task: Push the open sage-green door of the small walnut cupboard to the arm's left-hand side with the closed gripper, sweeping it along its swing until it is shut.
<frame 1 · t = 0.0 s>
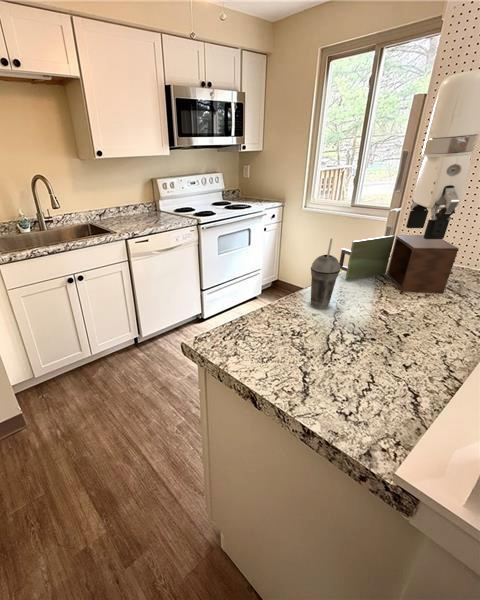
hand: (423, 233, 68), 24 cm above the countertop, tool pointing down, fingers open, 9 cm apart
beverage cup: (319, 306, 91), on the countertop
cupboard: (412, 283, 99), on the countertop
cupboard door: (363, 256, 106), point 7 cm above the countertop, hinge at 60.0°
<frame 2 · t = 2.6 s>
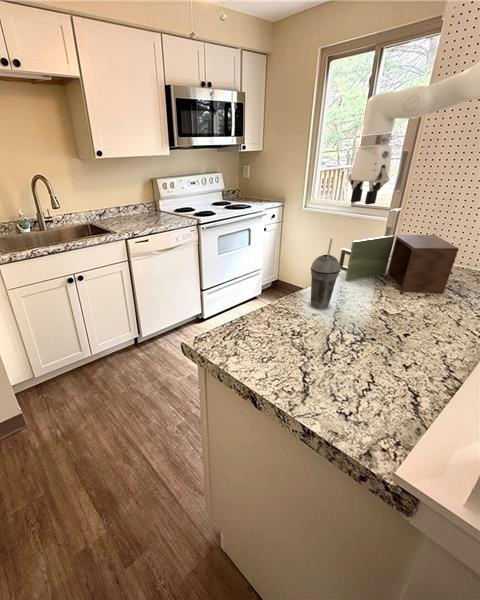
hand: (362, 202, 102), 24 cm above the countertop, tool pointing down, fingers open, 5 cm apart
nothing on the countertop moved.
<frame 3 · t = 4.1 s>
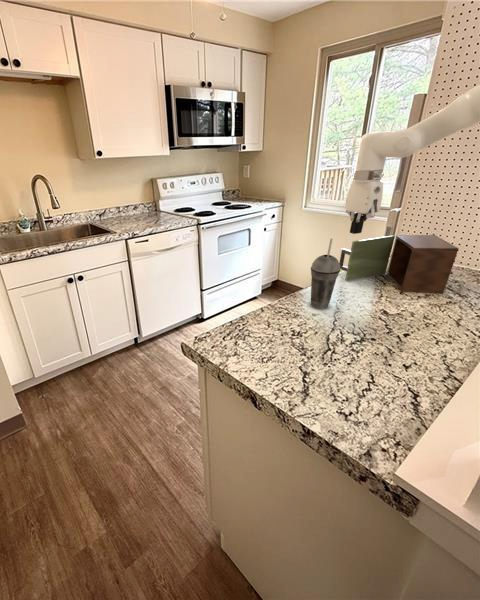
hand: (355, 232, 106), 14 cm above the countertop, tool pointing down, fingers closed
nothing on the countertop moved.
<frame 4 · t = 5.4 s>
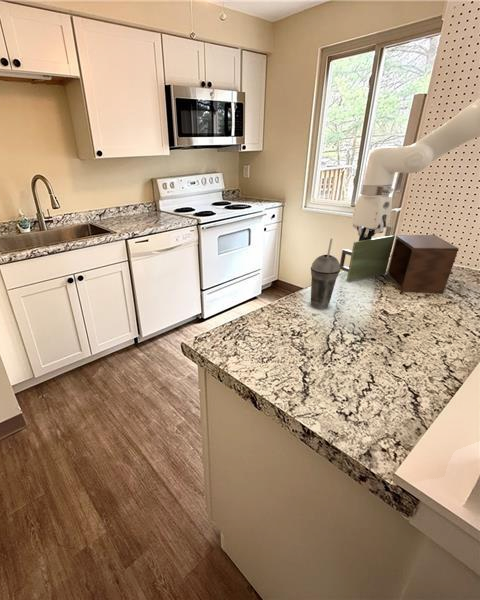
hand: (363, 247, 104), 10 cm above the countertop, tool pointing down, fingers closed
cupboard door: (363, 256, 105), point 7 cm above the countertop, hinge at 57.6°, touching gripper
everything else where it was.
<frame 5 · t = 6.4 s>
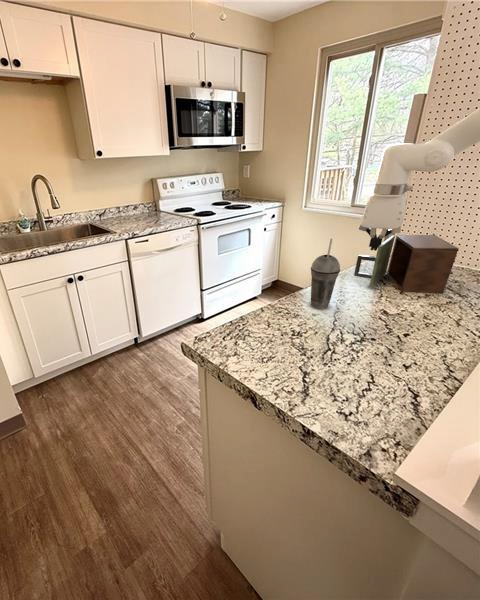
hand: (373, 249, 100), 11 cm above the countertop, tool pointing down, fingers closed
cupboard door: (372, 259, 102), point 7 cm above the countertop, hinge at 28.5°, touching gripper
everything else where it was.
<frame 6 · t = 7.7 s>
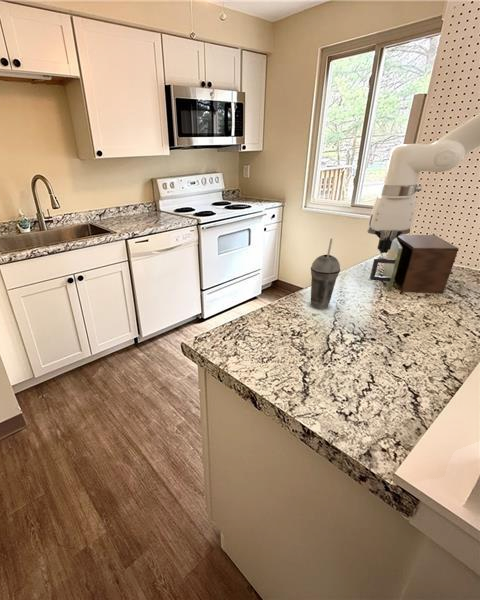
hand: (382, 251, 98), 10 cm above the countertop, tool pointing down, fingers closed
cupboard door: (381, 261, 100), point 7 cm above the countertop, hinge at 9.3°
everything else where it was.
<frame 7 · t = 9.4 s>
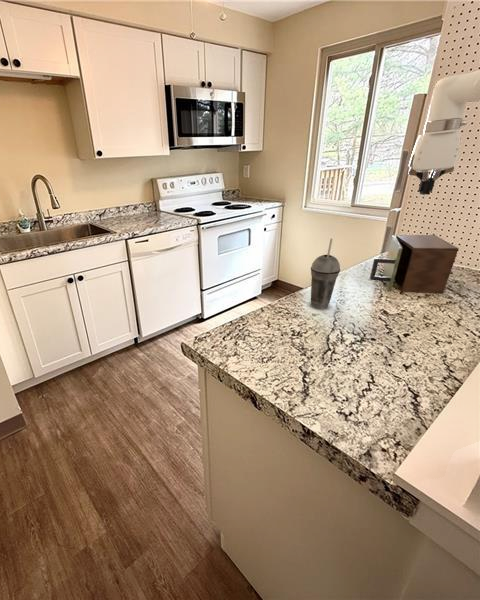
hand: (424, 193, 96), 26 cm above the countertop, tool pointing down, fingers closed
nothing on the countertop moved.
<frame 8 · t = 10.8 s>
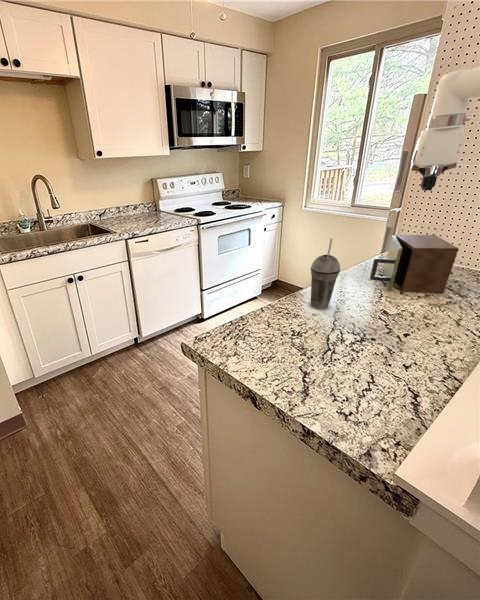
hand: (426, 189, 96), 27 cm above the countertop, tool pointing down, fingers closed
nothing on the countertop moved.
at the end: cupboard door at +9° (first picture: +60°) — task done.
